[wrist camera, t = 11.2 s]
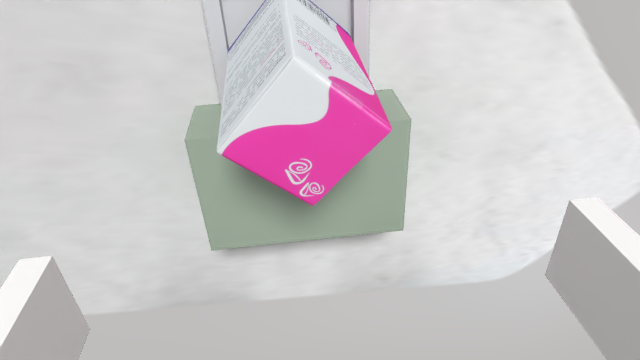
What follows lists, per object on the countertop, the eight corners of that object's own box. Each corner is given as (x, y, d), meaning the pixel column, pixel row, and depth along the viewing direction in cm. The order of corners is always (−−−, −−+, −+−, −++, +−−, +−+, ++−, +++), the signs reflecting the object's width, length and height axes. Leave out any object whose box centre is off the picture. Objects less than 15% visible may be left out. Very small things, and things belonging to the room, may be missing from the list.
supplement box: (224, 53, 28) (210, 153, 19) (281, -26, 26) (296, 45, 17) (296, 103, 31) (314, 211, 22) (354, 36, 28) (401, 126, 19)
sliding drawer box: (217, 208, 36) (210, 256, 31) (164, -36, 26) (142, -19, 21) (387, 191, 37) (405, 235, 32) (398, -51, 27) (426, -39, 22)
